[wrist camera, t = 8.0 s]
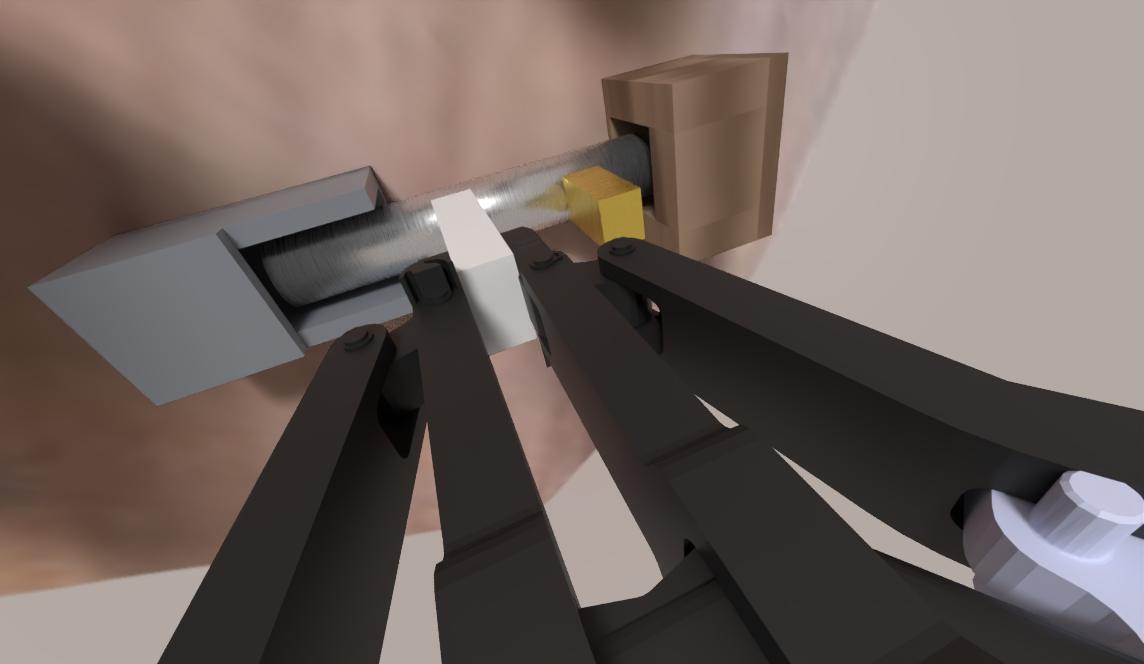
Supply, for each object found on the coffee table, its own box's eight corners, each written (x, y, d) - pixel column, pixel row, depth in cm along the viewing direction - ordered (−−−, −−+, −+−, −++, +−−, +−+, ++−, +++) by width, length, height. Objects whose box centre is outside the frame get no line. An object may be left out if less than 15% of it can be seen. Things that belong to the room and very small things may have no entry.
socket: (620, 223, 30) (680, 267, 24) (601, 79, 25) (672, 84, 18) (694, 199, 31) (771, 234, 25) (691, 55, 26) (788, 52, 19)
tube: (311, 290, 24) (276, 381, 17) (269, 225, 22) (210, 300, 15) (652, 182, 28) (736, 222, 21) (646, 117, 26) (740, 138, 19)
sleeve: (203, 340, 25) (156, 406, 20) (111, 236, 21) (26, 287, 16) (418, 271, 27) (422, 316, 22) (370, 165, 23) (363, 192, 18)
